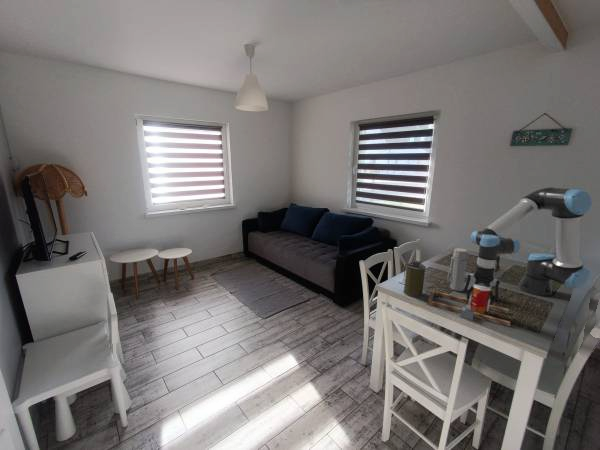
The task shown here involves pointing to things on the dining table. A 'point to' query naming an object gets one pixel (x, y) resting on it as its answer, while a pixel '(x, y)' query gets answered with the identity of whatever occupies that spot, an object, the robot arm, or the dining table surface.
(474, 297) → the coffee cup
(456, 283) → the water bottle
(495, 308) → the brown piece
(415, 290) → the canister
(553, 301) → the dining table surface
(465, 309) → the block
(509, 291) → the dining table surface
